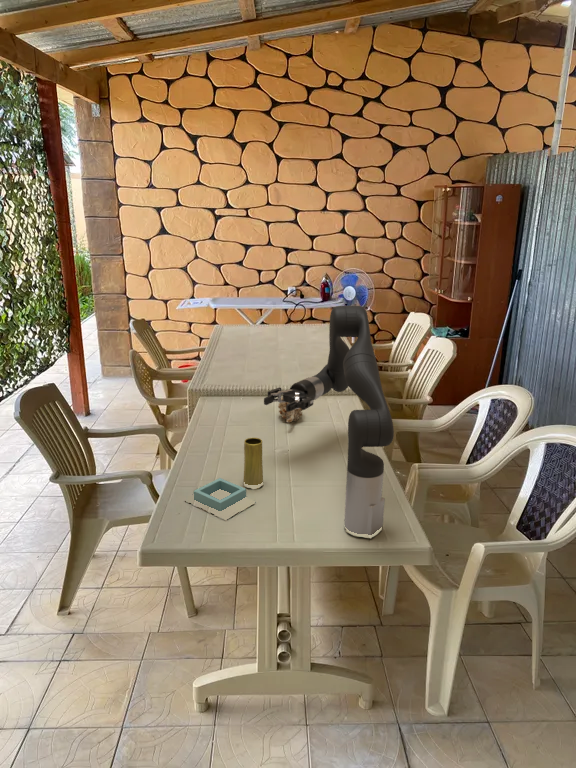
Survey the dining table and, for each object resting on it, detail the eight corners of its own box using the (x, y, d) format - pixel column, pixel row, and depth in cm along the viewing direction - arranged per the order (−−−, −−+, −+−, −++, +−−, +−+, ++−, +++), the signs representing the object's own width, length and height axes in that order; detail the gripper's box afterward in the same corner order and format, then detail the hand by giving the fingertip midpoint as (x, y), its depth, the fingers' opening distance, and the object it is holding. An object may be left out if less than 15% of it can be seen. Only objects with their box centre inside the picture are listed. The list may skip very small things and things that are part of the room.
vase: (238, 484, 183) (238, 440, 179) (254, 478, 187) (254, 435, 183) (252, 491, 179) (252, 447, 175) (267, 485, 183) (268, 441, 179)
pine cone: (277, 412, 241) (277, 388, 238) (301, 412, 241) (302, 388, 238) (279, 434, 220) (279, 408, 217) (306, 434, 220) (306, 408, 217)
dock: (255, 503, 173) (255, 491, 171) (225, 520, 164) (225, 507, 162) (215, 486, 182) (215, 474, 181) (185, 501, 173) (184, 488, 172)
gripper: (289, 374, 199) (257, 388, 187) (326, 384, 191) (295, 399, 179) (289, 396, 202) (257, 411, 189) (325, 406, 193) (294, 422, 181)
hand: (275, 405), depth 184 cm, fingers open, 8 cm apart
